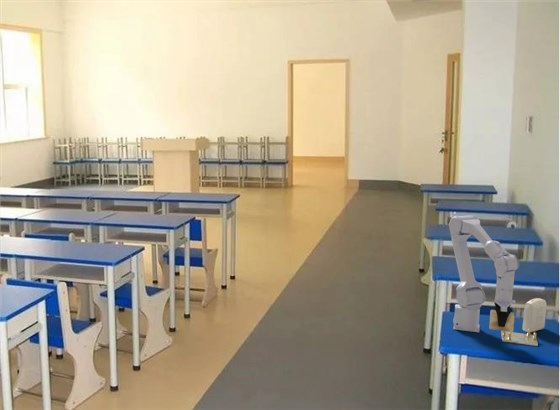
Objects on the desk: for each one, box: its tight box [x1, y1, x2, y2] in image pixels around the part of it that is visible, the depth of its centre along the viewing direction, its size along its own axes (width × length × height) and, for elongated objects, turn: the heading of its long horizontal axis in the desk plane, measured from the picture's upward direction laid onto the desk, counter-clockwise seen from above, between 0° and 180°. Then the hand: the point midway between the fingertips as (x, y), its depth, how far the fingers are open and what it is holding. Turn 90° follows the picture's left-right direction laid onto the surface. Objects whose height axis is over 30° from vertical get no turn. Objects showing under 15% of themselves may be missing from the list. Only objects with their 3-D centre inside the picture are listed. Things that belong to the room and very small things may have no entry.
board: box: [488, 309, 516, 332], centre depth 213 cm, size 8×4×6 cm, turn 72°
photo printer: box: [521, 297, 548, 333], centre depth 228 cm, size 10×4×12 cm, turn 123°
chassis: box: [500, 329, 539, 347], centre depth 218 cm, size 12×9×3 cm
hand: (501, 324), depth 213 cm, fingers closed on board, 4 cm apart
